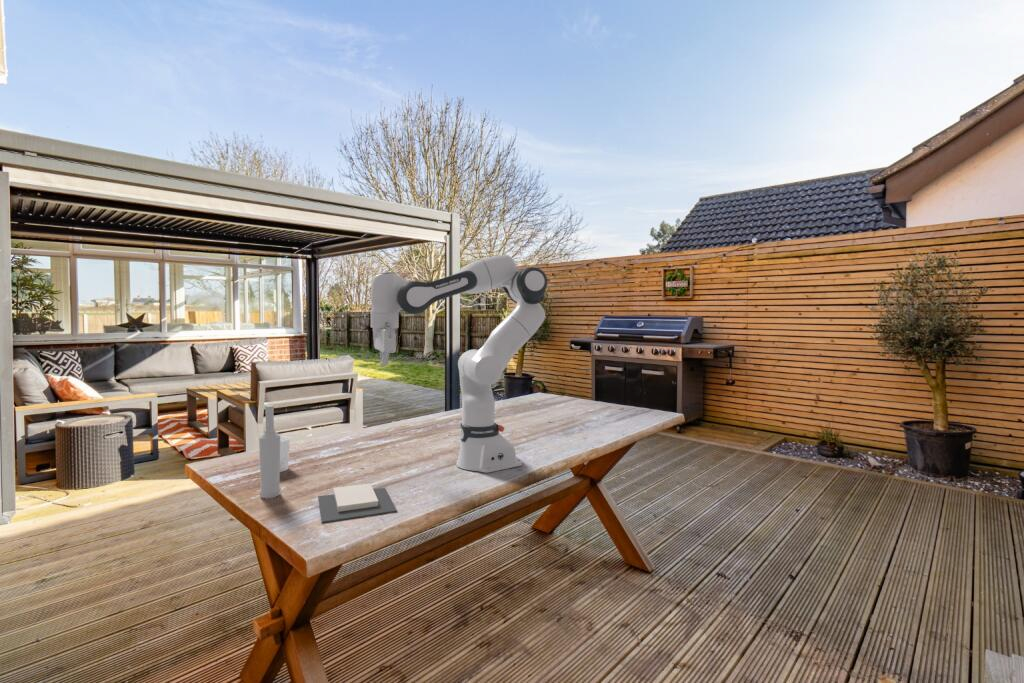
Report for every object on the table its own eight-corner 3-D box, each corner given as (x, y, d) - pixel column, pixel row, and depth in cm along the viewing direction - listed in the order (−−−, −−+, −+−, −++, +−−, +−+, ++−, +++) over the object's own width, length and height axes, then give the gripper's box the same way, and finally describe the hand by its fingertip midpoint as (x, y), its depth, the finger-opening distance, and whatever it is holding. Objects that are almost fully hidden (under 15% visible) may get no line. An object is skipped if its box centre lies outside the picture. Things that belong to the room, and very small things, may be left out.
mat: (384, 488, 139) (384, 487, 139) (396, 511, 123) (396, 510, 123) (318, 497, 131) (318, 496, 131) (321, 523, 115) (321, 521, 115)
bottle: (275, 490, 136) (274, 403, 134) (284, 495, 132) (283, 405, 131) (256, 495, 132) (255, 405, 130) (264, 500, 128) (264, 408, 127)
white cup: (260, 474, 149) (259, 443, 148) (265, 466, 156) (265, 436, 156) (287, 473, 151) (287, 441, 150) (292, 465, 158) (291, 435, 158)
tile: (370, 483, 138) (378, 500, 125) (370, 488, 138) (378, 506, 125) (333, 487, 133) (337, 506, 121) (333, 493, 134) (337, 512, 121)
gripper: (401, 323, 147) (400, 368, 148) (388, 322, 166) (388, 361, 166) (380, 323, 144) (379, 368, 145) (370, 321, 163) (369, 362, 164)
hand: (384, 364), depth 156 cm, fingers closed
